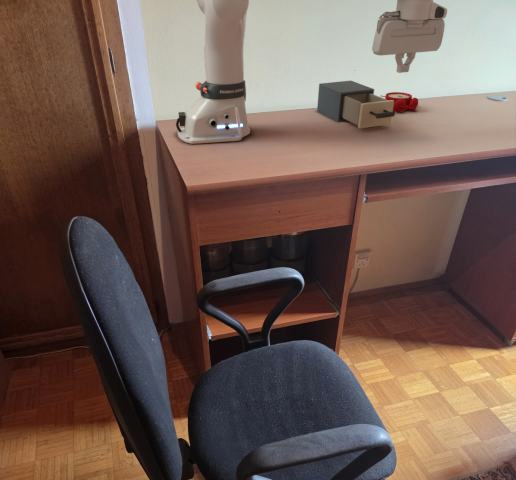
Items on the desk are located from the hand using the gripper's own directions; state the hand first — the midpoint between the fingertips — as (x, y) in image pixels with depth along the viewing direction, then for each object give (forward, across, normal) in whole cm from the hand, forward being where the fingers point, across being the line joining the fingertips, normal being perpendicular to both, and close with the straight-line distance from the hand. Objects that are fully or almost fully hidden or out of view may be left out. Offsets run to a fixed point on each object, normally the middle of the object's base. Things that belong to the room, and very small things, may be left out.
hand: (402, 72), depth 125 cm
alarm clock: (+17, +22, +26) cm, 38 cm away
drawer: (+16, 0, +13) cm, 21 cm away
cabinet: (+17, 0, +28) cm, 33 cm away
